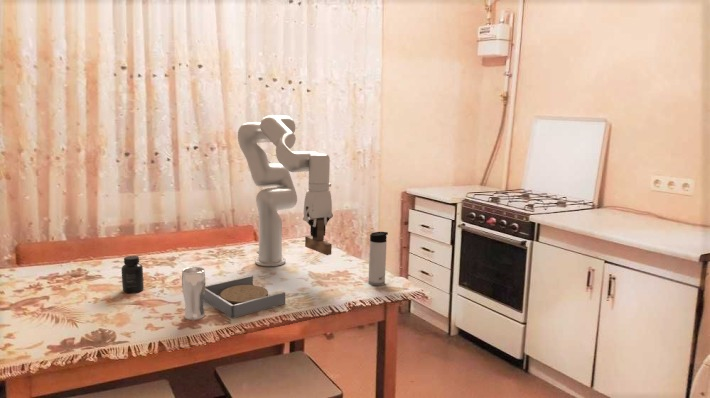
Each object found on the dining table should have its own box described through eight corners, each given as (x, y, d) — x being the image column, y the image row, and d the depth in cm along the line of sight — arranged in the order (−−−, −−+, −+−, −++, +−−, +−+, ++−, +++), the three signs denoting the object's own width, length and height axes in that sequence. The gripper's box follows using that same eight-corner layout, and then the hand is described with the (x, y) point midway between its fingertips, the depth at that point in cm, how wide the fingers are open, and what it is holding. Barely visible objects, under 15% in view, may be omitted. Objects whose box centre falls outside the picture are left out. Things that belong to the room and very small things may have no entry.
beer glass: (185, 311, 164) (184, 266, 161) (208, 311, 164) (207, 266, 162) (180, 320, 157) (178, 273, 154) (203, 320, 157) (202, 273, 155)
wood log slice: (275, 304, 172) (275, 296, 172) (229, 314, 164) (229, 305, 163) (257, 290, 185) (257, 282, 185) (213, 297, 177) (213, 289, 176)
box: (201, 298, 175) (200, 286, 175) (251, 285, 188) (251, 275, 188) (232, 318, 160) (232, 306, 159) (285, 303, 173) (285, 292, 172)
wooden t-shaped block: (304, 246, 197) (304, 216, 195) (310, 245, 199) (311, 215, 197) (325, 255, 186) (326, 223, 184) (332, 254, 188) (333, 222, 186)
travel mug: (384, 286, 192) (386, 234, 188) (367, 285, 193) (368, 233, 189) (386, 281, 198) (388, 230, 194) (369, 279, 199) (371, 229, 195)
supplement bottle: (148, 288, 183) (146, 256, 181) (134, 294, 176) (132, 261, 174) (132, 285, 185) (130, 253, 183) (118, 292, 179) (116, 258, 176)
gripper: (330, 184, 196) (329, 231, 200) (294, 187, 186) (293, 236, 189) (342, 187, 191) (341, 235, 194) (306, 190, 180) (305, 241, 184)
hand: (317, 235), depth 192 cm, fingers closed on wooden t-shaped block, 3 cm apart
